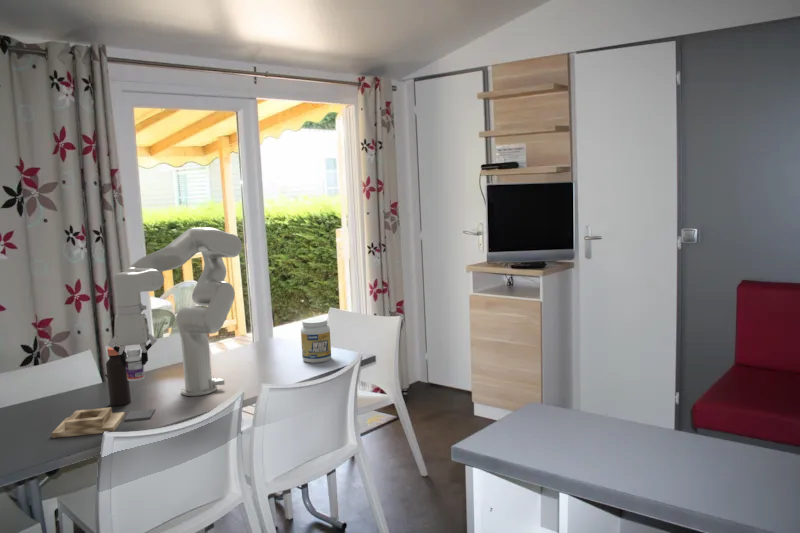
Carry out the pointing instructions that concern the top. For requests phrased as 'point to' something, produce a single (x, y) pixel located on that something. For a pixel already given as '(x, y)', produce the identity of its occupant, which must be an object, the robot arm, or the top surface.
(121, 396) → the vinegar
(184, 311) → the robot arm
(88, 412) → the housing
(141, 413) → the mat
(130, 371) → the pill bottle
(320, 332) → the supplement tub
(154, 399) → the top surface
